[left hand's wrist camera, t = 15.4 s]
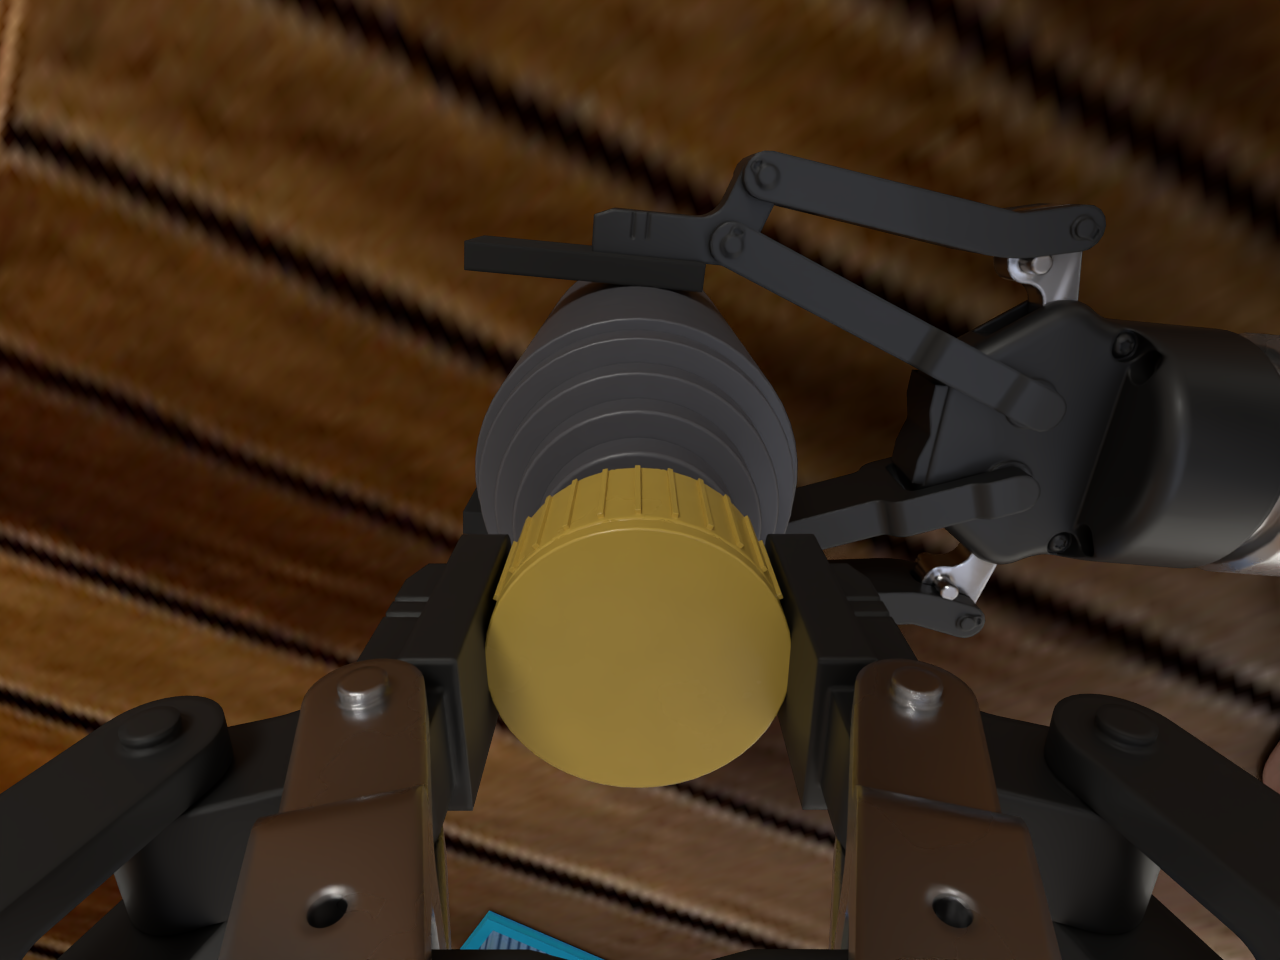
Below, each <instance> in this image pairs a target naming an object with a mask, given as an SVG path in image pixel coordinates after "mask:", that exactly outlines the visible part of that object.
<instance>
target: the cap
mask: <svg viewBox="0 0 1280 960" xmlns="http://www.w3.org/2000/svg"><path fill="white" fill-rule="evenodd" d="M780 599H783V595H782V593H781V590H780V587H779V584H778V582H777V579H776V576H775V573H774V570H773V568H772V565H771V562H770V559H769V557H768V554H767V551H766V548H765V546H764V543H763V541H762V540H761V541H758V539H757V537H756V535H755V532H754V529H753V526H752V523H751V520H750V518H749V517H748V516H745V517H744V516H743V515H742V514H741V512H740V511H739V510H738V509H737V508H736V507H735V506H734V505H733V504H732V503H731V501H730V497H729V496H728V495H726V494H725V495H724V496H723V495H721V494H720V493H718V492H717V491H715V490H714V489H712V488H711V487H709V486H708V485H706V484H704V481H703V480H702V479H700V478H698V480H695V479H693V478H691V477H688V476H685V475H681V474H678V473H675V472H673V469H669V468H668V469H667V471H666V470H661V469H652V468H641V466H640V465H635V468H625V469H615V470H610V471H608V469H603V470H602V472H601V473H598V474H595V475H592V476H589V477H586V478H584V479H581V480H579V481H578V480H577V479H575V480H573V481H572V484H571V485H569V486H567V487H566V488H564V489H563V490H561V491H560V492H558V493H557V494H555V495H554V496H553V497H552V496H551V495H549V496H548V497H547V498H546V500H545V503H544V504H543V505H542V506H541V507H540V509H539V510H538V511H537V512H536V513H535V514H534V515H533V516H532V518H531V517H529V516H528V517H527V519H526V520H525V523H524V526H523V529H522V532H521V535H520V538H519V540H518V542H515V541H513V544H512V546H511V549H510V552H509V555H508V558H507V560H506V563H505V566H504V569H503V572H502V575H501V577H500V580H499V583H498V586H497V589H496V591H495V594H494V597H493V600H496V601H497V602H496V605H495V608H494V611H493V614H492V617H491V620H490V623H489V626H488V630H487V633H486V640H485V655H486V667H487V677H488V687H489V691H490V694H491V697H492V700H493V703H494V704H495V706H496V708H497V710H498V712H499V714H500V716H501V718H502V719H503V721H504V722H505V724H506V725H507V727H508V728H509V729H510V731H511V732H512V733H513V734H514V735H515V736H516V737H517V738H518V740H519V741H520V742H521V743H522V744H523V745H524V746H526V747H527V748H528V749H529V750H530V751H531V752H533V753H534V754H535V755H536V756H538V757H539V758H541V759H542V760H544V761H545V762H547V763H548V764H550V765H552V766H554V767H556V768H558V769H560V770H562V771H564V772H566V773H568V774H570V775H573V776H576V777H578V778H581V779H584V780H587V781H591V782H595V783H599V784H604V785H610V786H617V787H632V788H645V787H659V786H666V785H672V784H677V783H681V782H685V781H688V780H692V779H695V778H698V777H700V776H703V775H706V774H708V773H711V772H713V771H715V770H717V769H718V768H720V767H722V766H724V765H726V764H728V763H729V762H731V761H732V760H734V759H735V758H737V757H738V756H740V755H741V754H742V753H744V752H745V751H746V750H747V749H748V748H749V747H751V746H752V745H753V744H754V743H755V742H756V741H757V740H758V739H759V738H760V737H761V735H762V734H763V733H764V732H765V731H766V730H767V729H768V727H769V726H770V724H771V723H772V721H773V720H774V718H775V717H776V715H777V713H778V711H779V709H780V707H781V705H782V703H783V701H784V699H785V696H786V693H787V683H788V672H789V660H790V648H791V635H790V630H789V627H788V624H787V621H786V617H785V614H784V611H783V609H782V606H781V603H780Z"/></svg>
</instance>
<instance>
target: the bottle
mask: <svg viewBox="0 0 1280 960" xmlns="http://www.w3.org/2000/svg"><path fill="white" fill-rule="evenodd" d="M635 465H640V466H641V468H652V469H661V470H666V471H667V469H668V468H669V469H673V472H675V473H678V474H681V475H685V476H688V477H691V478H693V479H695V480H698V478H700V479H702V480H703V481H704V484H706V485H708V486H709V487H711V488H712V489H714V490H715V491H717V492H718V493H720V494H721V495H723V496H724V495H725V494H726V495H728V496H729V497H730V501H731V503H732V504H733V505H734V506H735V507H736V508H737V509H738V510H739V511H740V512H741V514H742V515H743V516H744V517H745V516H748V517H749V518H750V520H751V523H752V526H753V529H754V532H755V535H756V537H757V539H758V541H761V540H762V541H763V543H764V546H765V541H766V537H767V535H768V534H785V532H786V529H787V526H788V522H789V519H790V516H791V511H792V505H793V501H794V495H795V489H796V483H797V453H796V444H795V439H794V435H793V431H792V427H791V424H790V421H789V418H788V416H787V414H786V411H785V409H784V406H783V404H782V402H781V400H780V399H779V397H778V395H777V394H776V392H775V390H774V389H773V387H772V385H771V384H770V382H769V381H768V380H767V378H766V377H765V375H764V374H763V373H762V371H761V370H760V368H759V367H758V366H757V364H756V363H755V361H754V360H753V359H752V357H751V356H750V354H749V353H748V352H747V350H746V349H745V347H744V346H743V345H742V343H741V342H740V340H739V339H738V338H737V336H736V335H735V333H734V332H733V331H732V329H731V328H730V326H729V325H728V323H727V322H726V321H725V319H724V318H723V316H722V315H721V314H720V312H719V311H718V309H717V308H716V307H715V305H714V304H713V302H712V301H711V300H710V298H709V297H708V296H707V295H706V293H705V292H704V291H702V292H693V291H683V290H672V289H662V288H653V287H640V286H630V285H619V284H608V283H598V282H587V281H577V282H576V283H575V284H574V285H573V286H572V287H570V288H569V289H568V291H567V292H566V293H565V294H564V295H563V297H562V298H561V299H560V301H559V302H558V303H557V305H556V306H555V308H554V309H553V311H552V312H551V314H550V315H549V317H548V318H547V320H546V321H545V322H544V324H543V325H542V327H541V328H540V330H539V331H538V333H537V334H536V336H535V337H534V339H533V340H532V342H531V343H530V344H529V346H528V347H527V349H526V350H525V352H524V353H523V355H522V356H521V358H520V359H519V361H518V362H517V364H516V365H515V366H514V368H513V369H512V371H511V372H510V374H509V375H508V377H507V378H506V380H505V381H504V383H503V384H502V386H501V387H500V389H499V390H498V392H497V394H496V395H495V397H494V398H493V400H492V402H491V404H490V407H489V409H488V411H487V413H486V415H485V418H484V420H483V424H482V427H481V431H480V434H479V438H478V444H477V452H476V484H477V491H478V498H479V501H480V505H481V512H482V515H483V519H484V522H485V526H486V529H487V532H488V534H508V535H509V537H510V540H511V546H512V544H513V541H515V542H518V540H519V538H520V535H521V532H522V529H523V526H524V523H525V520H526V519H527V517H528V516H529V517H531V518H532V516H533V515H534V514H535V513H536V512H537V511H538V510H539V509H540V507H541V506H542V505H543V504H544V503H545V500H546V498H547V497H548V496H549V495H551V496H552V497H553V496H554V495H555V494H557V493H558V492H560V491H561V490H563V489H564V488H566V487H567V486H569V485H571V484H572V481H573V480H575V479H577V480H578V481H579V480H581V479H584V478H586V477H589V476H592V475H595V474H598V473H601V472H602V470H603V469H608V471H610V470H615V469H625V468H635Z"/></svg>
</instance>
